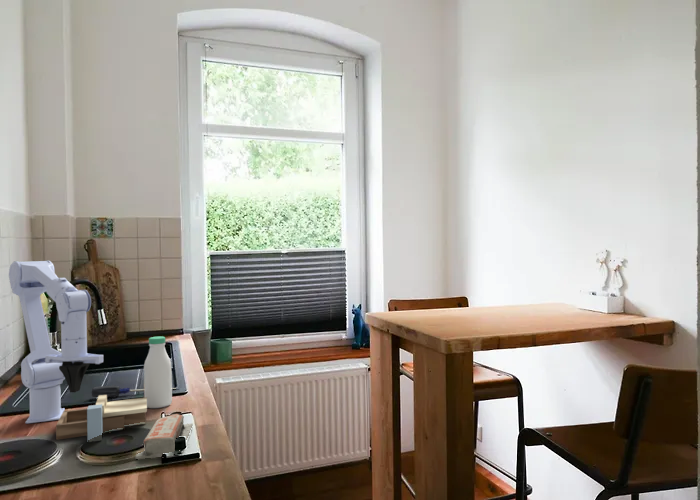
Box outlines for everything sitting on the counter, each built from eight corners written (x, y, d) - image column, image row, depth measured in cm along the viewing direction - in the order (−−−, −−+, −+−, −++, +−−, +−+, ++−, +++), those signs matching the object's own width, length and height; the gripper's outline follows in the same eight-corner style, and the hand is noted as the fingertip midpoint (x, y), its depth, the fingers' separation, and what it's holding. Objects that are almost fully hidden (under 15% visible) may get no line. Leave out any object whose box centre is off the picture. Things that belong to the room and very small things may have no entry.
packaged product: (182, 436, 110) (134, 440, 108) (182, 458, 110) (135, 462, 108) (193, 410, 128) (152, 413, 126) (193, 429, 128) (152, 432, 126)
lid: (98, 406, 134) (98, 395, 134) (146, 400, 139) (146, 390, 139) (95, 418, 124) (95, 406, 124) (146, 411, 129) (146, 400, 129)
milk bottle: (177, 403, 148) (176, 336, 148) (154, 410, 142) (153, 340, 142) (161, 399, 152) (160, 334, 152) (138, 406, 146) (137, 338, 146)
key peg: (88, 438, 121) (88, 405, 121) (102, 436, 122) (102, 404, 122) (87, 442, 118) (87, 409, 118) (101, 441, 119) (101, 407, 119)
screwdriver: (179, 388, 165) (179, 377, 165) (180, 391, 162) (180, 379, 162) (92, 398, 155) (91, 386, 156) (90, 401, 152) (90, 389, 152)
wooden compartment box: (63, 424, 132) (63, 411, 132) (145, 413, 139) (145, 401, 139) (56, 439, 120) (56, 425, 121) (145, 427, 128) (145, 414, 128)
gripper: (110, 335, 130) (110, 387, 130) (58, 335, 132) (59, 386, 132) (93, 340, 123) (94, 395, 123) (39, 340, 125) (39, 394, 125)
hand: (74, 391), depth 127 cm, fingers closed
